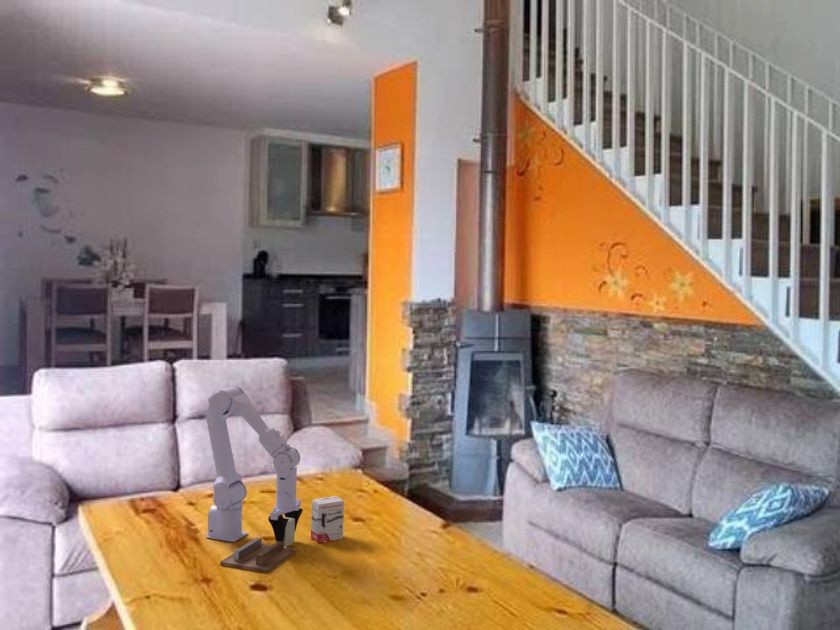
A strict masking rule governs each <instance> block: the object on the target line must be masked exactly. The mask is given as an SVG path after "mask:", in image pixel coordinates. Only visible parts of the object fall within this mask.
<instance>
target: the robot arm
mask: <svg viewBox="0 0 840 630" xmlns="http://www.w3.org/2000/svg"><path fill="white" fill-rule="evenodd" d="M207 402H208V407H207V412H206V416H205V420H206V424H207V430H208V436H209V440H210V446H211V451H212V456H213V462H214V467H215V472H216V479H215V481H214V483H213V495H212V501H213V505H212V506H211V507H210V509H209V511H208V514H207V515H208V516H207V535H206V536H205V538H208V539H212V540H218V541H219V540H220V541H225V542H229V543H235V542H236V541H238V540H240V539H242V538H243V537H245V536H247V535H249V533H248V532H249V531H243V501H244V500H245V498H246V497H247V495H248V494H247V493H248V489H247V487H246V485H245V483H244V482H243V479H242V476H241V475H240V474H239V473H238V472H236V466H235V460H234V455H233V450H232V449H233V448H232V444H231V440H230V439H231V438H230V434H229V430H228V423H227V420H228V418H229V417H230V416H231V415H236V416H240V417H242V419H244V421H245V422H246V423H247V424H248V425H249V426H250V427H251V428H252V429H253V430H254V432H255V433H256V434H257V435H258V442H259V443H260V445H261V446H262V447H263V448H264V450H265V451H266V452H267V453H268V455H269V456H270V457H271V458H272V464H273V467H274V469H275V470H276V487H275V488H276V492H275V506H274V507H273V509H272V511H270V515H269V516H268V519H267V520H268V522H269V523H270V526H271V528H272V531H273V534H274V539H275V542H276V541H283V540H284V535H285V528H286V525H287V522H288V520H289V519H286V518H285V517H288V518H295V532H296V531H297V526H298V523H299V520H300V518H301V516H302V513H303V511H304V510H303V508H301V505H302V504H301V503H302V502H301V501H302V499H299V498H297V484H298V483H297V482H298V481H297V478H298V477H297V474H298V473H297V472H298V471H297V469H298V468H297V466H298V465H299V464H300V461H301V456H300V453H299V451H298V449H297V448H296V447H293V446H291V445H290V444H288V443H287V442H286V441H285V439H284V438H283V437H282V436H281V432H280V431H279V430H276V429H275V428H273V427H269V426H268V425H267V424H266V422H265V421H264V419H263V418H262V417H261V415H260V414H259V413H258V411H257V409H255V407H254V405H253V403H252V402H251V400H250V397H249V395H248V394H246V393H245V391H244V389H242V387H239V386H238V385H233V386H229V387H227V388H224V389H218V390H215V391H214V392H213V393H212V395H211V396H209V398H208V400H207ZM283 515H284V516H285V517H284V516H283Z"/></svg>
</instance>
